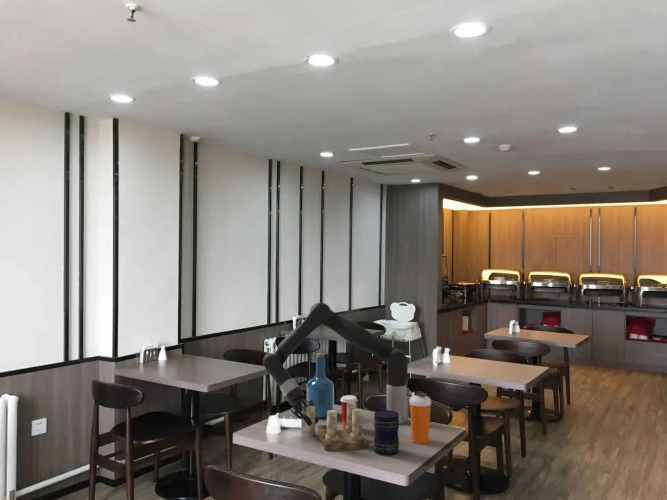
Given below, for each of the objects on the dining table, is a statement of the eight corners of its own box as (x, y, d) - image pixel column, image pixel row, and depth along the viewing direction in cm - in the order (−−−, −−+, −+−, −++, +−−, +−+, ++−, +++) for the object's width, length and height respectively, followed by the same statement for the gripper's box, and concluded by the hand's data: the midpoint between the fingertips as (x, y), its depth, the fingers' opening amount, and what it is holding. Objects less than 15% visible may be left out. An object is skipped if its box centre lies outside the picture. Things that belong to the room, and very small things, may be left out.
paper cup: (358, 426, 250) (358, 395, 250) (357, 431, 242) (357, 399, 242) (341, 425, 251) (341, 394, 251) (339, 431, 243) (339, 399, 243)
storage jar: (404, 453, 216) (404, 406, 216) (384, 457, 210) (384, 410, 211) (388, 445, 224) (388, 401, 224) (368, 450, 219) (368, 404, 219)
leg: (312, 433, 240) (312, 405, 240) (316, 435, 236) (316, 407, 236) (304, 434, 238) (304, 406, 238) (307, 437, 235) (307, 408, 235)
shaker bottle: (417, 446, 223) (417, 396, 224) (405, 439, 231) (405, 392, 232) (435, 442, 227) (435, 394, 228) (422, 436, 235) (422, 389, 236)
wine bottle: (333, 411, 275) (333, 350, 275) (334, 418, 261) (334, 355, 262) (305, 411, 274) (305, 351, 274) (305, 419, 261) (305, 355, 261)
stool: (357, 434, 238) (357, 401, 238) (366, 447, 221) (366, 411, 222) (318, 436, 235) (318, 403, 235) (325, 450, 218) (325, 414, 218)
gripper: (286, 389, 236) (309, 422, 229) (306, 383, 248) (328, 414, 241) (277, 400, 239) (299, 433, 232) (297, 393, 251) (318, 424, 244)
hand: (314, 423), depth 236 cm, fingers closed on leg, 4 cm apart
